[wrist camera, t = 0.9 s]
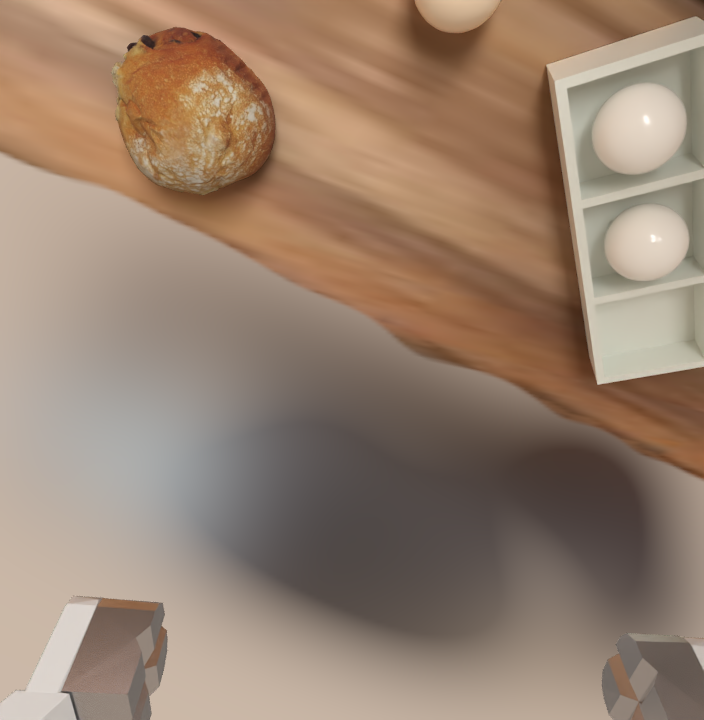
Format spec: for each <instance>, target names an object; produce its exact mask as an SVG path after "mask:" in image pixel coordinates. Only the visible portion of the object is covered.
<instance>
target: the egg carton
mask: <svg viewBox="0 0 704 720" xmlns="http://www.w3.org/2000/svg"><path fill="white" fill-rule="evenodd" d="M546 67H547V74H548V81H549V88H550V94H551V101H552V108H553V115H554V122H555V128H556V135H557V142H558V149H559V155H560V162H561V169H562V176H563V183H564V189H565V196H566V203H567V210H568V216H569V223H570V230H571V237H572V244H573V250H574V257H575V264H576V271H577V277H578V284H579V291H580V298H581V305H582V311H583V318H584V325H585V332H586V338H587V345H588V352H589V358H590V361H591V364H592V368H593V371H594V375H595V378H596V381H597V385H599V384H604V383H610V382H616V381H622V380H628V379H634V378H640V377H646V376H652V375H658V374H663V373H669V372H675V371H681V370H687V369H693V368H699V367H704V21H703V20H702V19H700V18H698V17H697V16H695V17H692V18H688V19H685V20H682V21H679V22H676V23H673V24H670V25H667V26H664V27H661V28H658V29H655V30H652V31H649V32H645V33H642V34H639V35H636V36H633V37H630V38H627V39H624V40H621V41H618V42H615V43H612V44H609V45H606V46H602V47H599V48H596V49H593V50H590V51H587V52H584V53H581V54H578V55H575V56H572V57H569V58H566V59H563V60H560V61H556V62H553V63H550V64H547V65H546ZM642 82H651V83H657V84H661V85H664V86H666V87H668V88H669V89H671V90H672V91H673V92H675V93H676V94H677V95H678V96H679V98H680V99H681V101H682V102H683V104H684V107H685V110H686V114H687V129H686V134H685V137H684V140H683V142H682V144H681V146H680V147H679V149H678V150H677V152H676V153H675V154H674V156H673V157H672V158H671V159H670V160H668V161H667V162H666V163H665V164H663V165H662V166H660V167H659V168H657V169H655V170H653V171H650V172H647V173H643V174H637V175H627V174H621V173H618V172H615V171H613V170H611V169H609V168H608V167H606V166H605V165H604V164H603V163H602V162H601V161H600V159H599V158H598V157H597V155H596V153H595V151H594V148H593V145H592V126H593V122H594V119H595V117H596V115H597V113H598V111H599V109H600V108H601V106H602V105H603V104H604V102H605V101H606V100H607V99H608V98H609V97H610V96H611V95H613V94H614V93H615V92H617V91H618V90H620V89H622V88H624V87H626V86H629V85H632V84H636V83H642ZM643 203H657V204H661V205H665V206H667V207H670V208H671V209H673V210H674V211H676V212H677V213H678V214H679V215H680V216H681V217H682V218H683V220H684V221H685V223H686V225H687V227H688V231H689V247H688V251H687V253H686V256H685V257H684V259H683V261H682V262H681V264H680V265H679V266H678V267H677V268H676V269H675V270H674V271H672V272H671V273H670V274H668V275H666V276H664V277H662V278H659V279H656V280H652V281H634V280H630V279H627V278H625V277H623V276H621V275H620V274H618V273H617V272H616V271H615V270H614V269H613V268H612V267H611V266H610V264H609V262H608V261H607V259H606V256H605V252H604V239H605V235H606V232H607V230H608V227H609V226H610V224H611V223H612V221H613V220H614V219H615V218H616V217H617V216H618V215H619V214H620V213H621V212H622V211H623V210H625V209H626V208H628V207H631V206H633V205H638V204H643Z"/></svg>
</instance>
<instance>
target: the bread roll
mask: <svg viewBox="0 0 704 720" xmlns="http://www.w3.org/2000/svg"><path fill="white" fill-rule="evenodd" d="M127 48H128V52H127V53H126V54H124V55H123V56H124V58H125V61H124V63H123V62H117V63H115V64H114V67H113V68H112V72H111V73H112V77H113V83H114V84H115V86H116V87H117V91H118V98H117V105H118V106H117V108H116V114H115V116H116V120H117V121H118V124H119V128H120V131H121V134H122V137H123V140H124V142H125V145H126V148H127V150H128V151H129V153H130V156H131V157H132V159H133V161H134V162H135V164H136V166H137V167H138V169H139V170H140V171H141V172H142V173H143V174H144V175H145V176H147V177H148V178H149V179H150V180H151V181H152V182H153V183H155V184H157V185H160V186H163V187H165V188H168V189H171V190H175V191H179V192H189V193H194V194H199V195H205V194H207V193H210V192H212V191H217V190H218V188H222V187H225V186H227V185H229V184H232V183H234V182H236V181H238V180H242V179H245V178H247V177H249V176H251V175H253V174H254V173H255V172H256V171H257V170H258V169H259V168H260V167H262V165H263V164H264V163H265V161H266V160H267V158H268V157H269V154H270V152H271V149H272V146H273V142H274V138H275V116H274V111H273V107H272V102H271V99H270V96H269V94H268V91H267V89H266V88H265V86H264V84H263V83H262V82H261V81H260V79H259V78H258V77H257V76H256V75H255V74H254V72H253V71H252V70H251V69H250V68H248V67H247V66H246V64H245V63H244V62H243V61H242V60H241V59H240V58H239V57H238V56H237V55H236V54H235V53H234V52H233V51H232V50H231V49H229V48H228V47H227V46H226V45H225V44H224V43H222V42H221V41H220V40H218V39H215V38H213V37H212V36H211V35H209V34H207V33H203V32H195V31H192V30H189V29H185V28H177V27H174V28H172V29H168V30H164V31H161V32H158V33H155V34H153V35H150V36H146V35H143V36H142V37H141V38H140V39H139V41H138V43H131V44H129V45H128V47H127Z"/></svg>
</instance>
